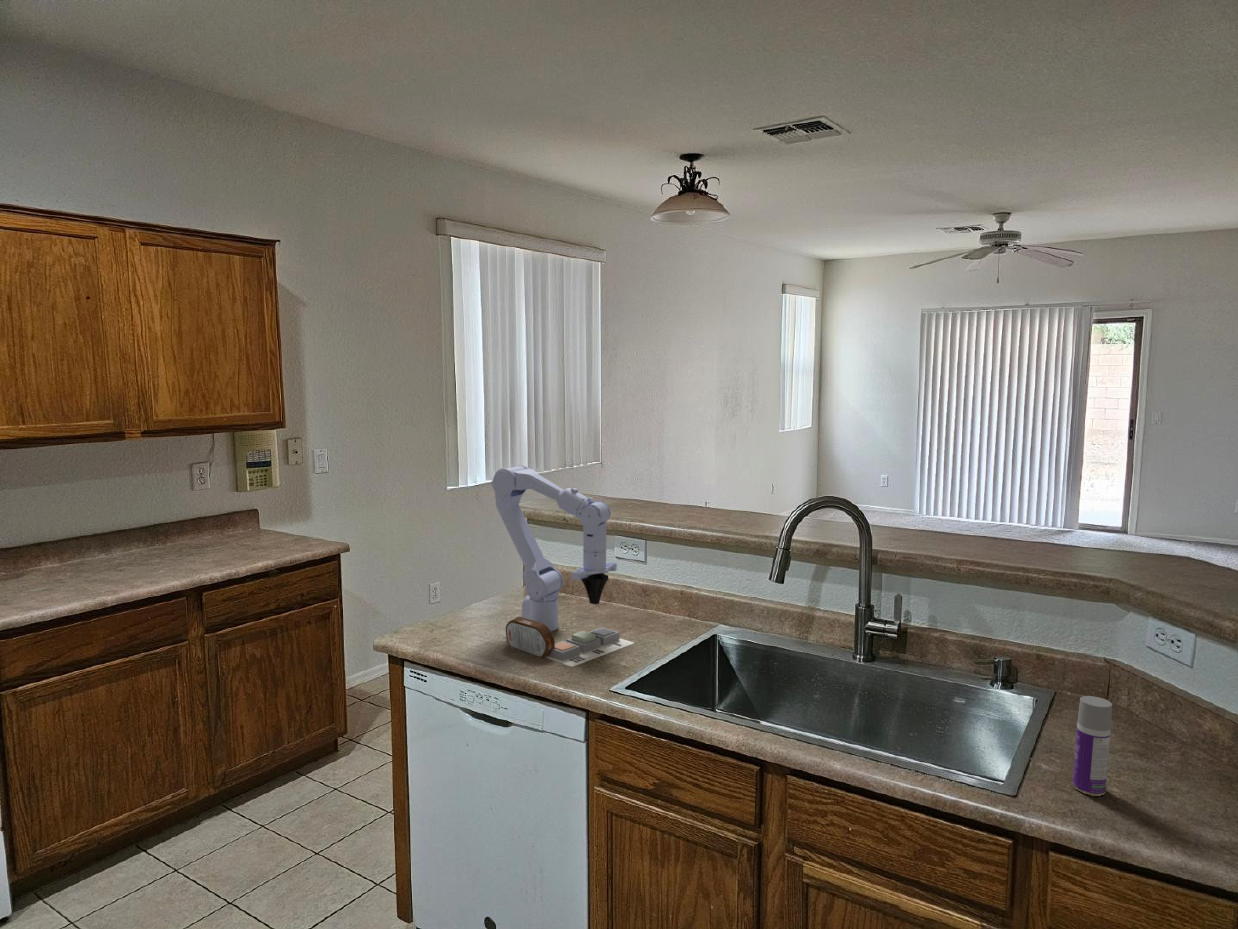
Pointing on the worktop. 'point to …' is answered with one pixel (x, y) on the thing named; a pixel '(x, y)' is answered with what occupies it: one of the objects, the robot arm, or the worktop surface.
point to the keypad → (588, 649)
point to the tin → (530, 636)
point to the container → (1092, 744)
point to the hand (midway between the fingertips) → (594, 603)
